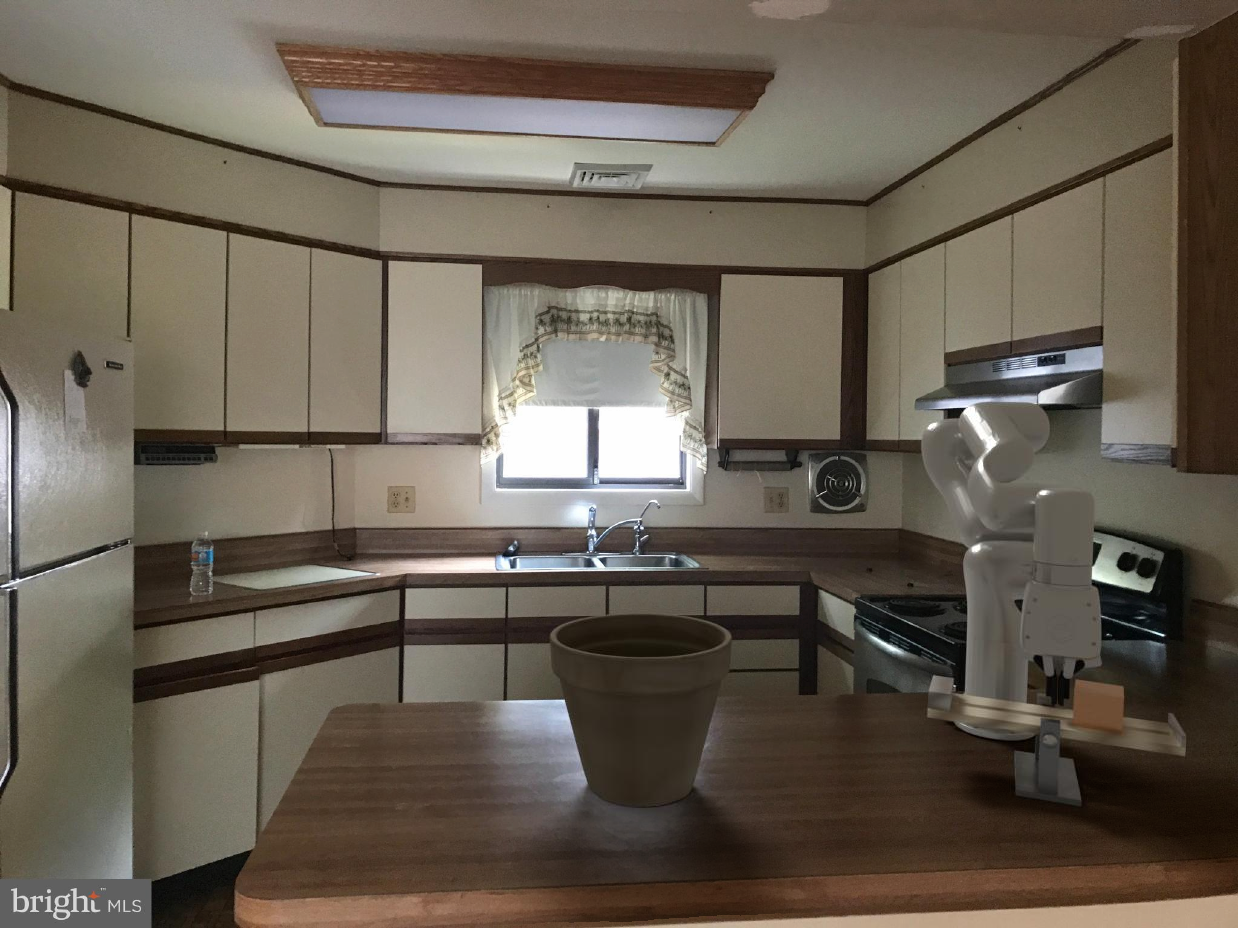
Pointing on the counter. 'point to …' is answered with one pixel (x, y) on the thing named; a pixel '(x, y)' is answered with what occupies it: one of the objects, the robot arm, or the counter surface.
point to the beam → (1029, 715)
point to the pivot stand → (1046, 766)
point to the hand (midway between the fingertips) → (1057, 702)
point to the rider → (1098, 706)
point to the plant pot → (640, 700)
